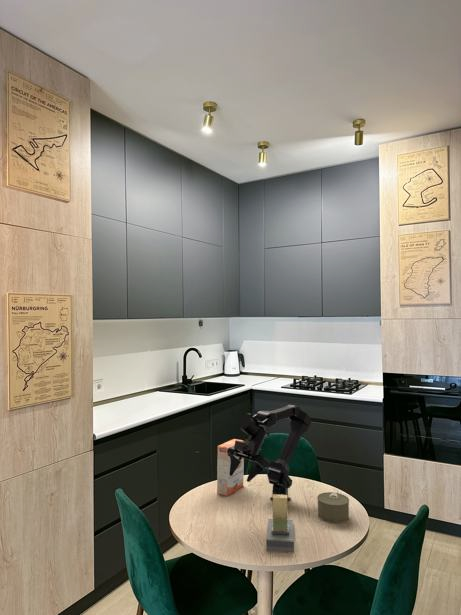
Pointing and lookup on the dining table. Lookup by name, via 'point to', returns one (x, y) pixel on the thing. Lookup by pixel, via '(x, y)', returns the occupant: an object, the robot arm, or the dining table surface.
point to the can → (333, 507)
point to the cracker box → (228, 471)
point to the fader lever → (280, 515)
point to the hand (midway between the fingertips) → (238, 478)
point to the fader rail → (280, 539)
